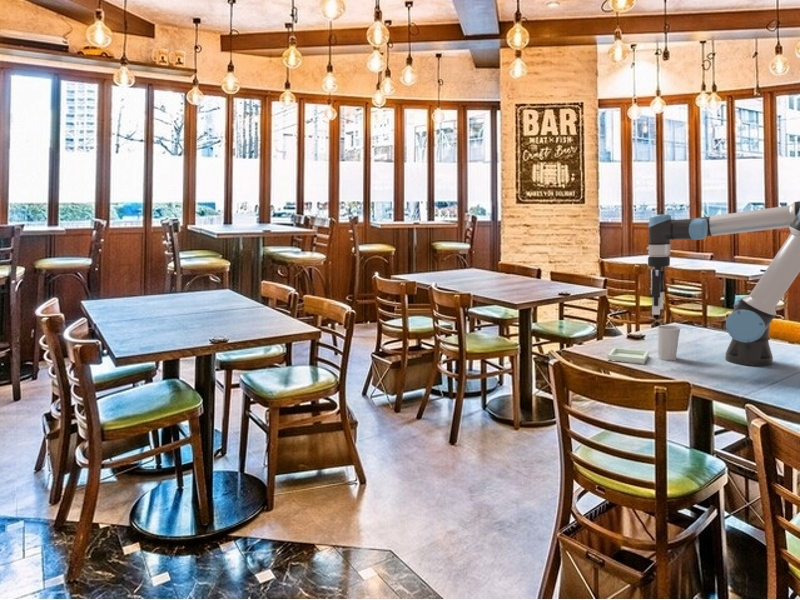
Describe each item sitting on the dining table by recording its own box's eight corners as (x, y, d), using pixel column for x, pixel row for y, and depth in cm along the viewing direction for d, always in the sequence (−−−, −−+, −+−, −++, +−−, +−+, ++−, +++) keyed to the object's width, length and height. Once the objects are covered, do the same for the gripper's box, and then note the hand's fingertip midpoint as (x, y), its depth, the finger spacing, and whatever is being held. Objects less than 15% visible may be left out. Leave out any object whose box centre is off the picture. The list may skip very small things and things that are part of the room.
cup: (680, 361, 217) (682, 329, 215) (658, 360, 218) (659, 329, 216) (675, 355, 224) (677, 325, 222) (653, 355, 226) (655, 325, 224)
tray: (648, 356, 224) (648, 350, 224) (644, 364, 213) (644, 358, 213) (613, 352, 230) (613, 347, 230) (607, 360, 219) (607, 354, 219)
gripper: (651, 253, 229) (650, 306, 232) (644, 258, 207) (643, 316, 210) (672, 253, 225) (671, 306, 228) (667, 258, 204) (665, 317, 207)
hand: (657, 311), depth 219 cm, fingers open, 13 cm apart
